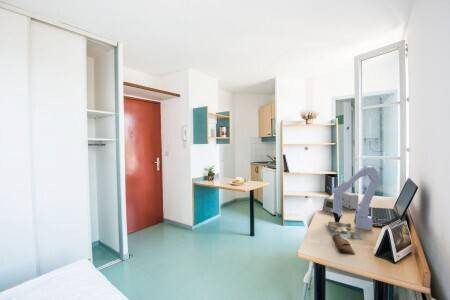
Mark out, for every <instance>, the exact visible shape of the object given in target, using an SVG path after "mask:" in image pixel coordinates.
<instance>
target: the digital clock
mask: <svg viewBox="0 0 450 300" xmlns="http://www.w3.org/2000/svg"><path fill="white" fill-rule="evenodd" d="M342 207H344V206H343V202H342ZM321 209H322V211H325V212H327V213H331V214H333V211H331V210H333V198H328V197H324V199H323V204H322V208H321Z"/></svg>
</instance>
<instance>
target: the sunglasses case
mask: <svg viewBox="0 0 450 300" xmlns="http://www.w3.org/2000/svg"><path fill="white" fill-rule="evenodd" d="M332 240H333V241H334V242H333V243H335V246H336V247H337V250H338V252H339V253H340V254H342V255H350V256H351V255H353V256H356V253H355V252H354V249H353V248H352V246H351V245H350V243H349V241H348V240H347V239H346V238H341V237H340V236H338V235H334V236H333V237H332Z"/></svg>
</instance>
